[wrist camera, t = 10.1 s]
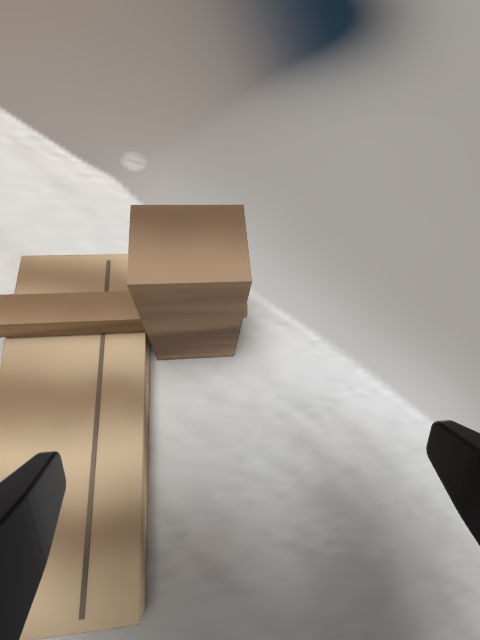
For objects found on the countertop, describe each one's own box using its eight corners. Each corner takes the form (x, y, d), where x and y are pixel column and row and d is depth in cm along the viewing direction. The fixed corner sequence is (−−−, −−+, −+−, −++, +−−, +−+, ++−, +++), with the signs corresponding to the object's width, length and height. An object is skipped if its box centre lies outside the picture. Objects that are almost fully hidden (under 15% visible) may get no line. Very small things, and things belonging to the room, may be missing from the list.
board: (145, 609, 18) (138, 626, 16) (-27, 632, 17) (-56, 652, 15) (151, 269, 26) (147, 253, 24) (35, 272, 25) (21, 255, 23)
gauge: (243, 355, 24) (267, 280, 15) (2, 368, 22) (-143, 292, 13) (238, 302, 25) (257, 204, 16) (12, 310, 23) (-109, 205, 14)
